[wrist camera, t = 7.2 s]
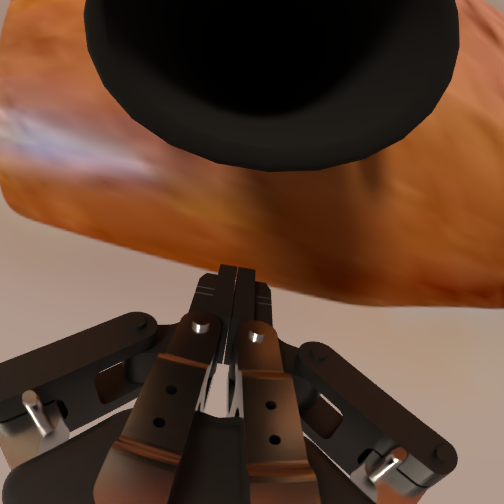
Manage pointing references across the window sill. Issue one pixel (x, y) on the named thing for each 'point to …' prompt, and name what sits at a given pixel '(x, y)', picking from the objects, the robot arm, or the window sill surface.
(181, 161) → the window sill surface
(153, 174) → the window sill surface
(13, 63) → the window sill surface
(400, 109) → the cup
